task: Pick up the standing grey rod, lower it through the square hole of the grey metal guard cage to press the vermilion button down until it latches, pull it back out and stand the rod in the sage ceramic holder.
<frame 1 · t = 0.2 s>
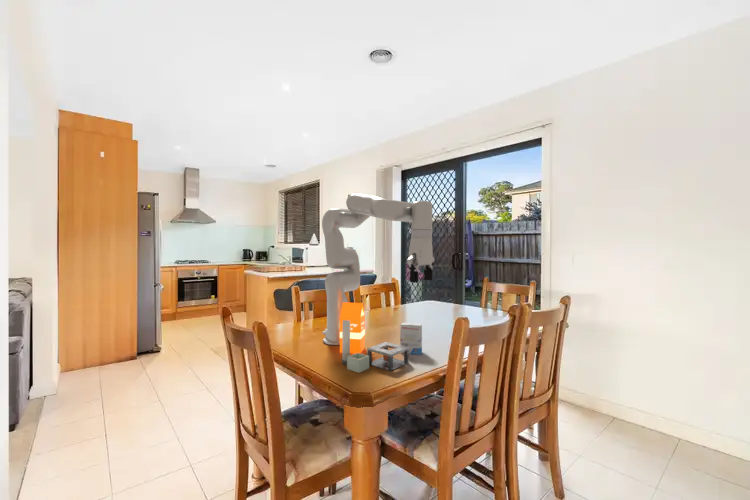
hand: (421, 281, 131), 31 cm above the table, fingers open, 9 cm apart
grey rod: (346, 363, 132), on the table
orange juice: (352, 350, 148), on the table
guard: (388, 363, 132), on the table
button: (388, 355, 132), point 3 cm above the table, slide at 0.0 cm
holder: (358, 368, 127), on the table
ink box: (411, 352, 146), on the table
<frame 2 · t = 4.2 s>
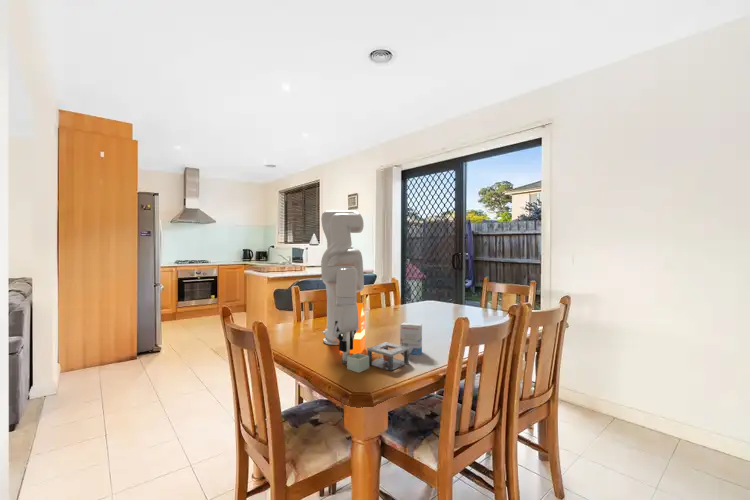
hand: (346, 349, 132), 5 cm above the table, fingers closed on grey rod, 2 cm apart
grey rod: (346, 363, 132), on the table, touching gripper
everything else where it was.
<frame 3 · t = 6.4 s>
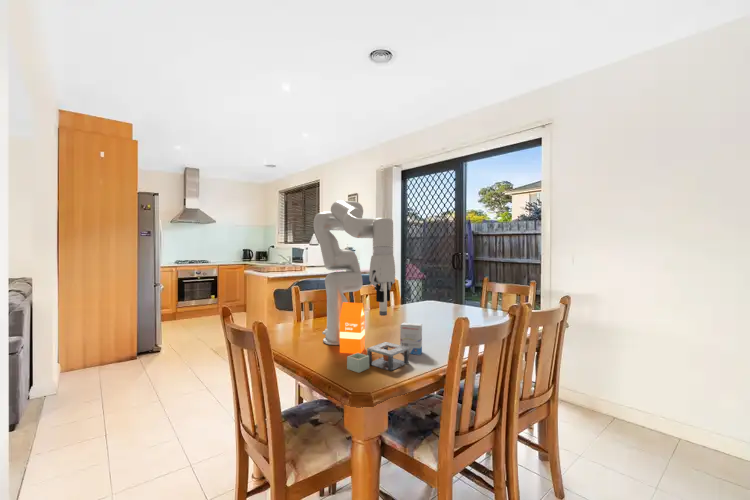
hand: (383, 300, 131), 24 cm above the table, fingers closed on grey rod, 2 cm apart
grey rod: (383, 314, 131), point 18 cm above the table, touching gripper
everything else where it was.
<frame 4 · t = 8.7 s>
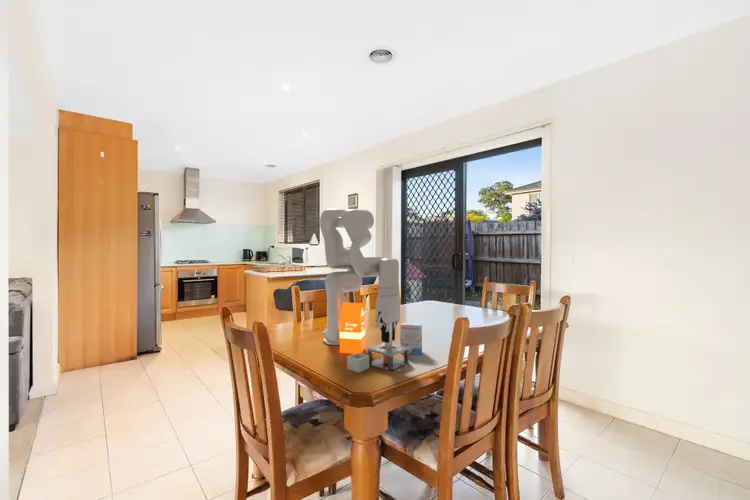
hand: (388, 340, 132), 9 cm above the table, fingers closed on grey rod, 2 cm apart
grey rod: (388, 354, 132), point 3 cm above the table, touching button, gripper
button: (388, 358, 132), point 2 cm above the table, slide at 1.1 cm, touching grey rod
everything else where it was.
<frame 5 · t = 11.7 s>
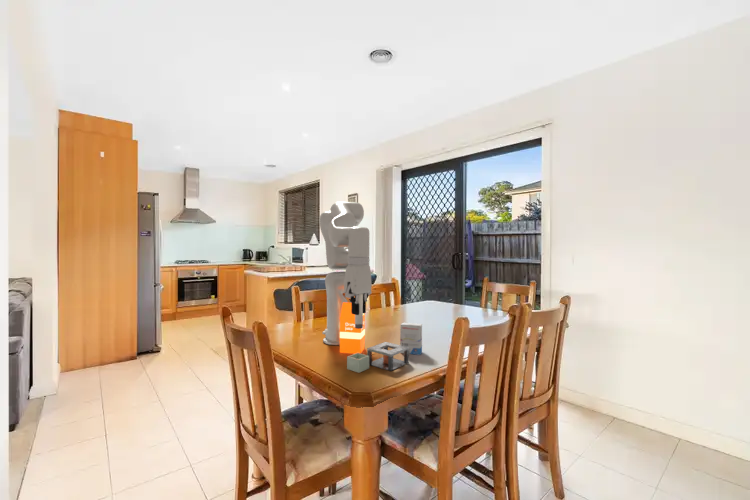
hand: (358, 313, 126), 20 cm above the table, fingers closed on grey rod, 2 cm apart
grey rod: (358, 327, 126), point 15 cm above the table, touching gripper
button: (388, 358, 132), point 2 cm above the table, slide at 1.1 cm
everything else where it was.
when the fingers open (7 cm above the table, at t = 14.1 s): grey rod drops 1 cm, resting on holder.
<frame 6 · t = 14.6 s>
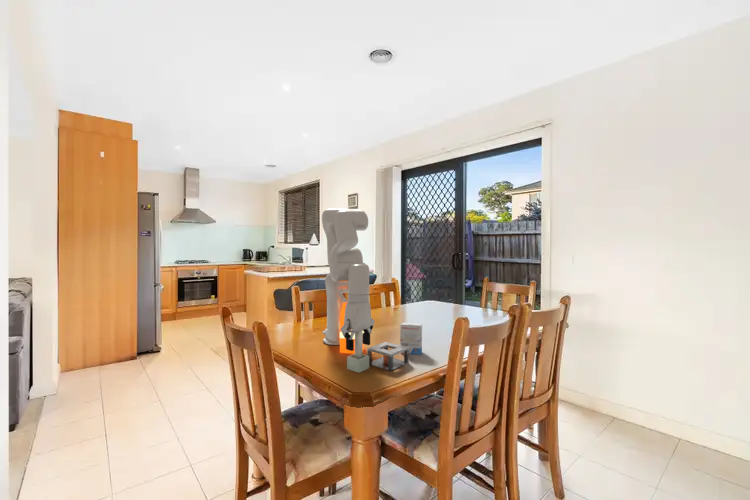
hand: (358, 346, 126), 8 cm above the table, fingers open, 8 cm apart
grey rod: (358, 367, 127), point 1 cm above the table, touching holder
everything else where it was.
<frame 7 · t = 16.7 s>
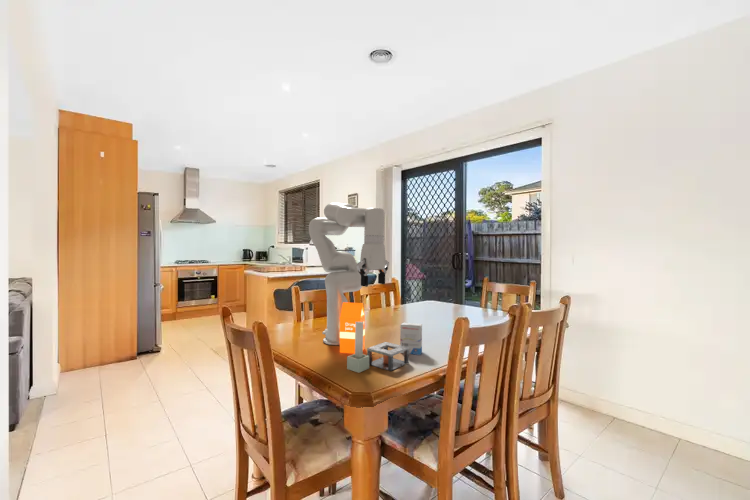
hand: (373, 284, 136), 29 cm above the table, fingers open, 9 cm apart
nothing on the table moved.
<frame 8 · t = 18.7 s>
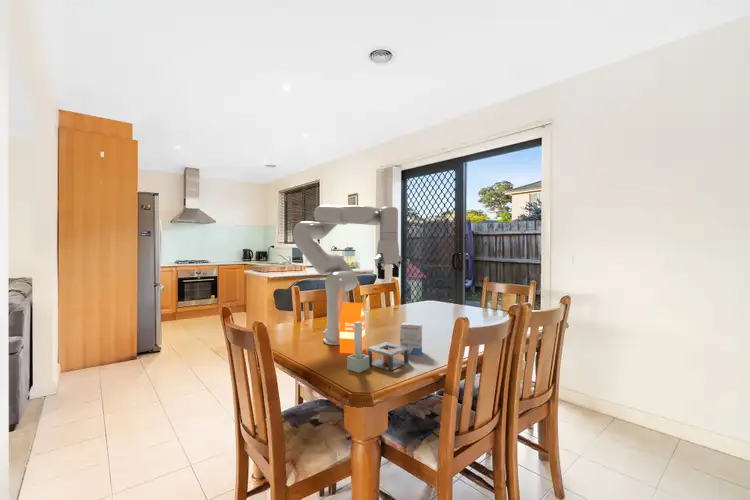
hand: (388, 278, 148), 30 cm above the table, fingers open, 9 cm apart
nothing on the table moved.
at the end: button slide at 1.1 cm; grey rod 0.1 cm off-centre on the holder, point 0.6 cm above the holder's base; the gripper is holding nothing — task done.
